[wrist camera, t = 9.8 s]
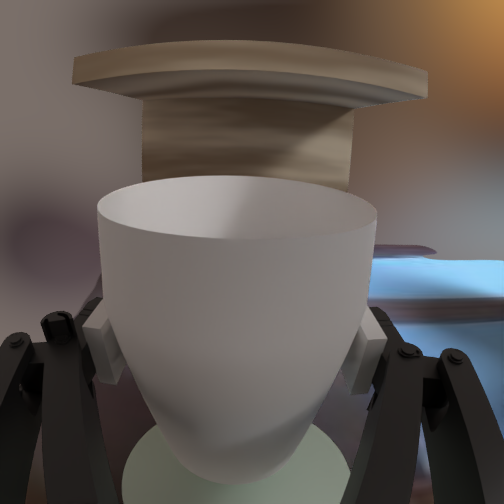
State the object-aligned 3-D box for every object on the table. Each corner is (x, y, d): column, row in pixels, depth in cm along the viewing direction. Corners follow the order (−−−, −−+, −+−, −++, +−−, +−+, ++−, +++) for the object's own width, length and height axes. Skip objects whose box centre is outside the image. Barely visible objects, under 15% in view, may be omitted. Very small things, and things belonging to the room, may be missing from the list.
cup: (121, 482, 10) (25, 227, 6) (175, 366, 19) (160, 172, 14) (320, 514, 10) (436, 260, 5) (317, 383, 18) (352, 184, 14)
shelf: (366, 390, 20) (427, 71, 12) (111, 383, 19) (74, 57, 11) (327, 298, 32) (349, 94, 25) (155, 292, 32) (148, 86, 24)
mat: (381, 454, 14) (383, 449, 14) (269, 621, 5) (270, 622, 5) (219, 380, 21) (219, 375, 20) (82, 480, 11) (78, 476, 11)
